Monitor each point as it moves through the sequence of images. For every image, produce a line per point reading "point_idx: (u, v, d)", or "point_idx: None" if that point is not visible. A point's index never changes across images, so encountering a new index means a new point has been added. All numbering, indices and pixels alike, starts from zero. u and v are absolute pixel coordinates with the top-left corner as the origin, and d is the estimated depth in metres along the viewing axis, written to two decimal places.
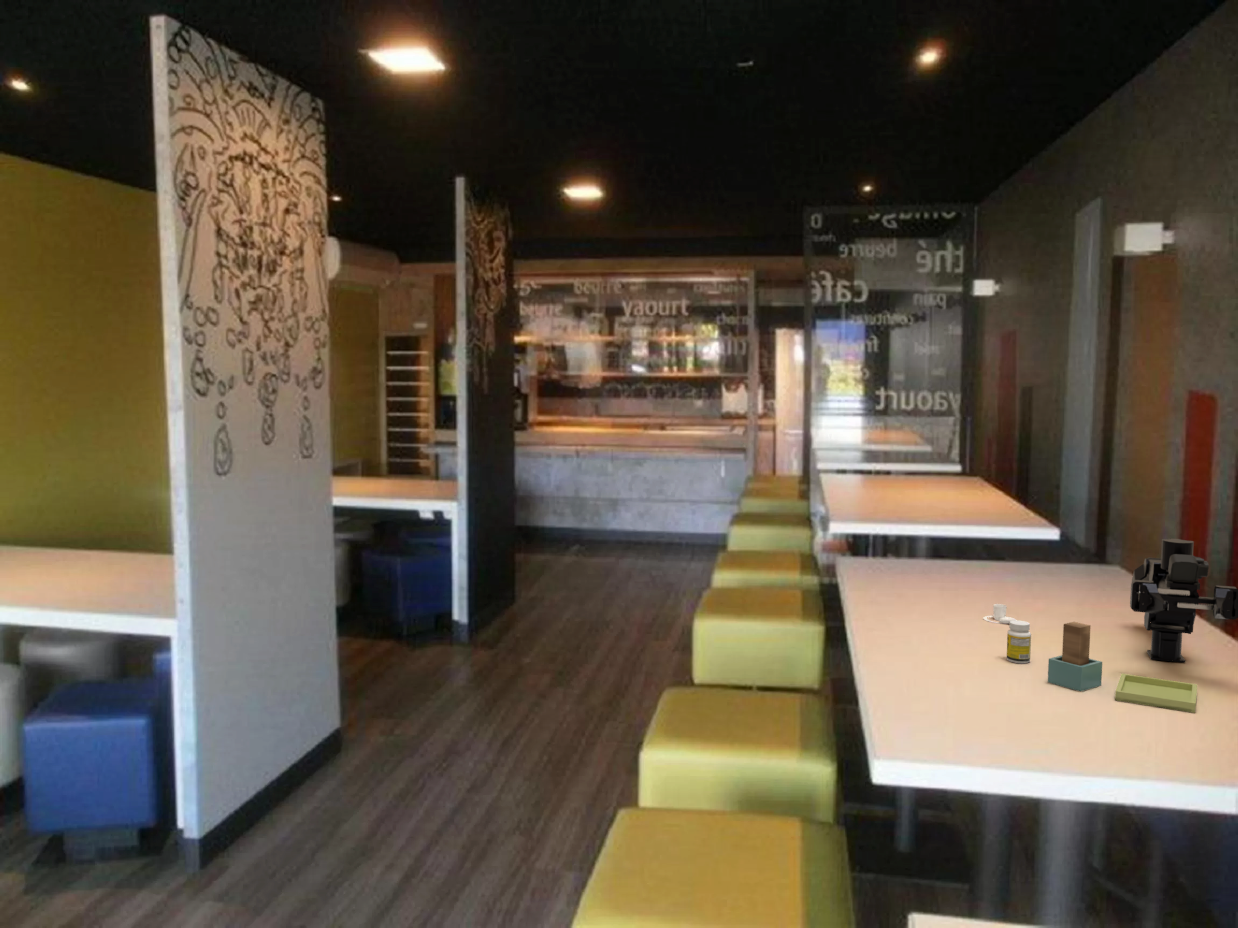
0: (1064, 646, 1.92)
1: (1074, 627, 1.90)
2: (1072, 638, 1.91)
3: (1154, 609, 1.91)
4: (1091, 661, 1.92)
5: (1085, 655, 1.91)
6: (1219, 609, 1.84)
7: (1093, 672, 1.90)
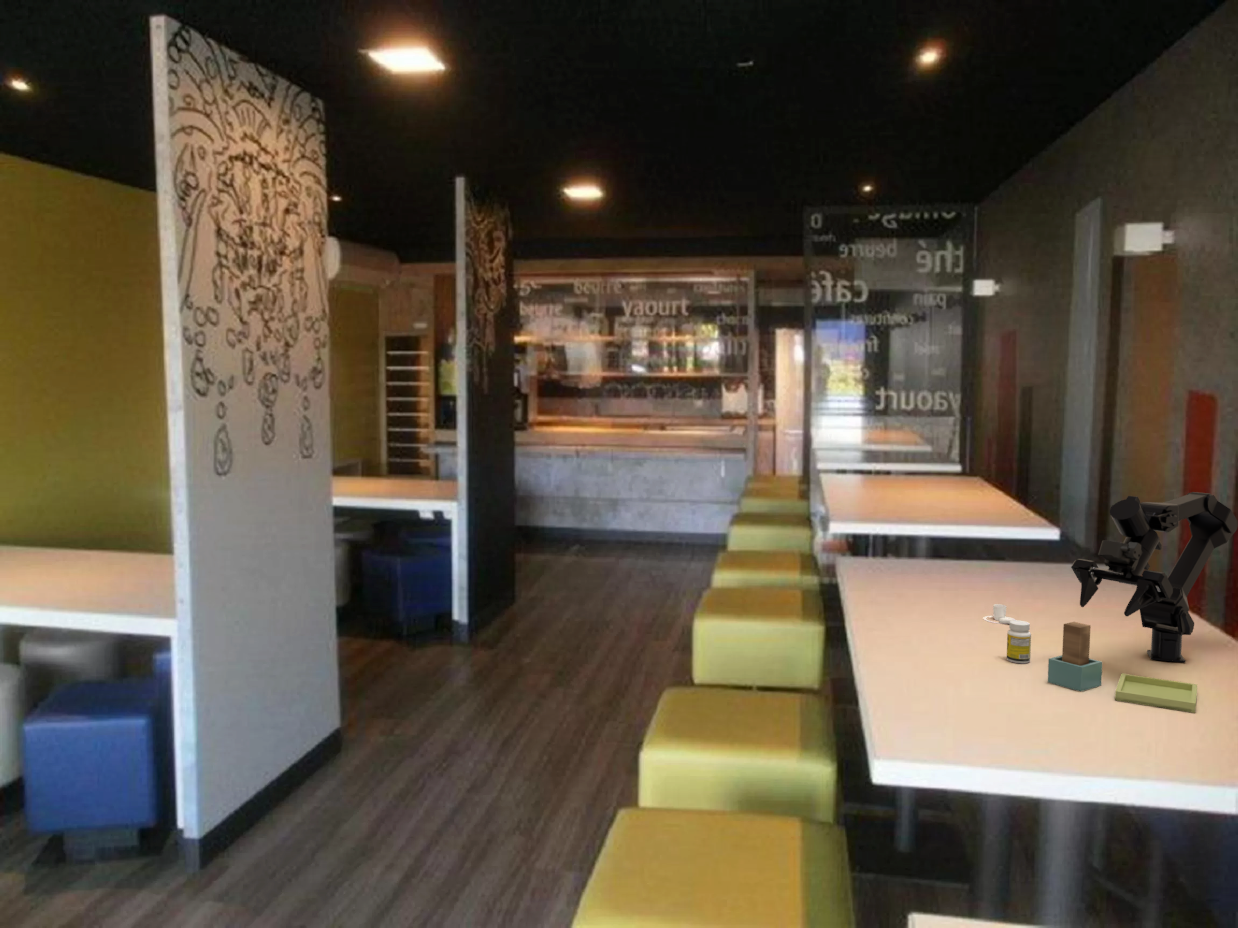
0: (1064, 646, 1.92)
1: (1074, 627, 1.90)
2: (1072, 638, 1.91)
3: None
4: (1091, 661, 1.92)
5: (1085, 655, 1.91)
6: (1125, 613, 1.92)
7: (1093, 672, 1.90)
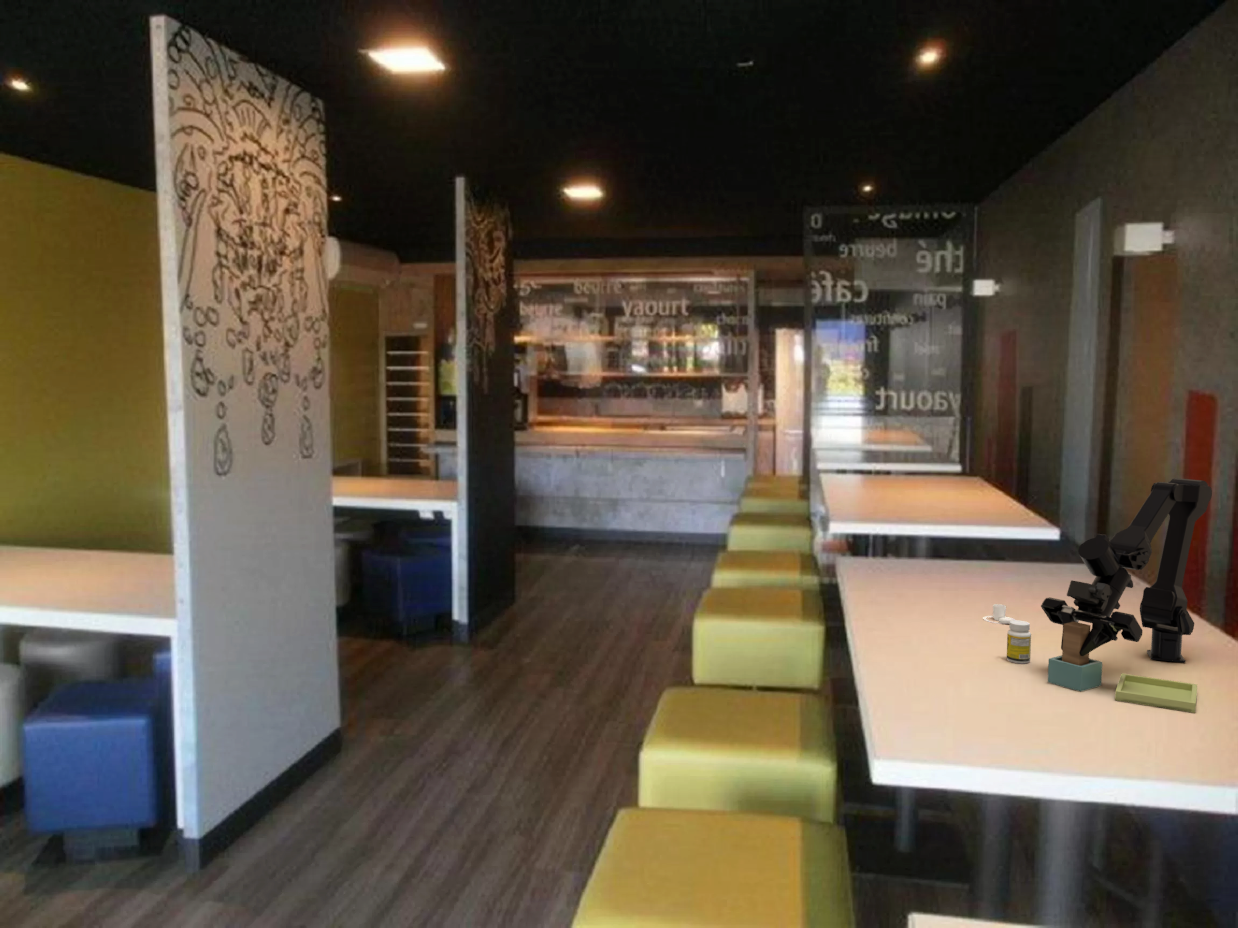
0: (1064, 645, 1.92)
1: (1074, 627, 1.90)
2: (1072, 638, 1.91)
3: None
4: (1091, 661, 1.92)
5: (1085, 655, 1.91)
6: (1080, 653, 1.90)
7: (1093, 672, 1.90)
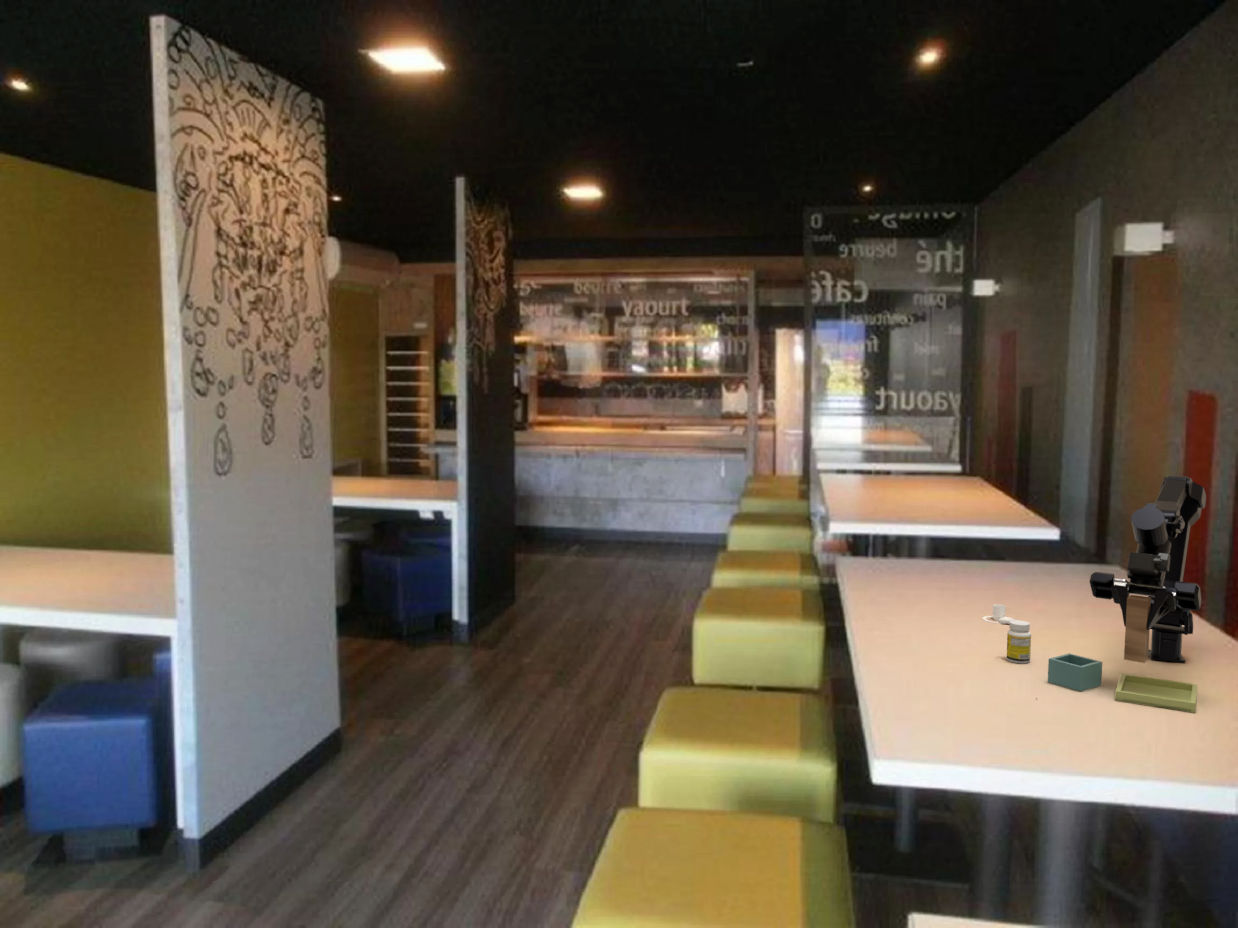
0: (1127, 620, 1.85)
1: (1140, 600, 1.83)
2: (1138, 612, 1.84)
3: None
4: (1091, 661, 1.92)
5: None
6: (1148, 627, 1.83)
7: (1093, 672, 1.90)
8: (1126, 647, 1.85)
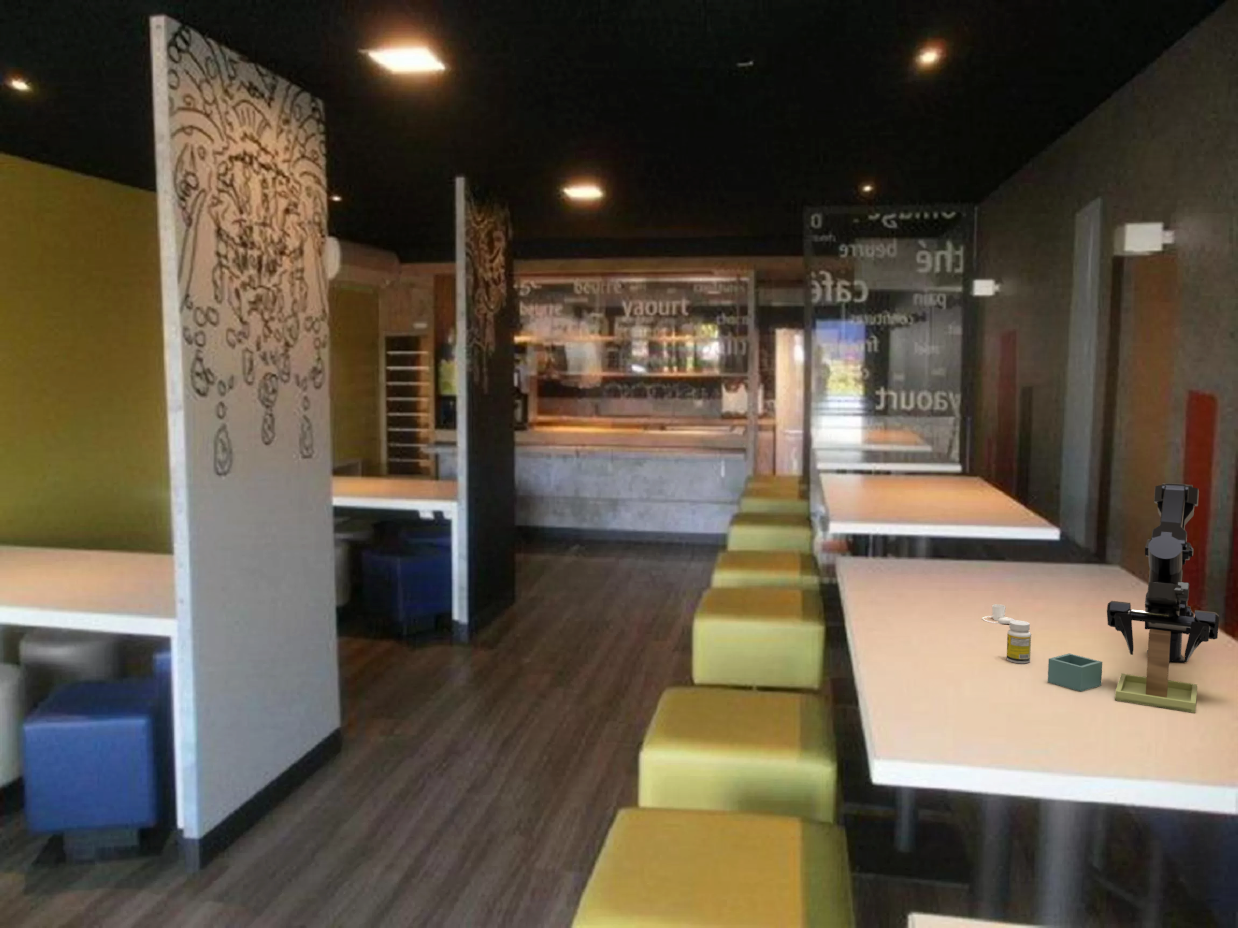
0: (1149, 655, 1.83)
1: (1162, 635, 1.82)
2: (1160, 647, 1.82)
3: (1126, 641, 1.89)
4: (1091, 661, 1.92)
5: None
6: (1186, 659, 1.81)
7: (1093, 672, 1.90)
8: (1148, 682, 1.84)
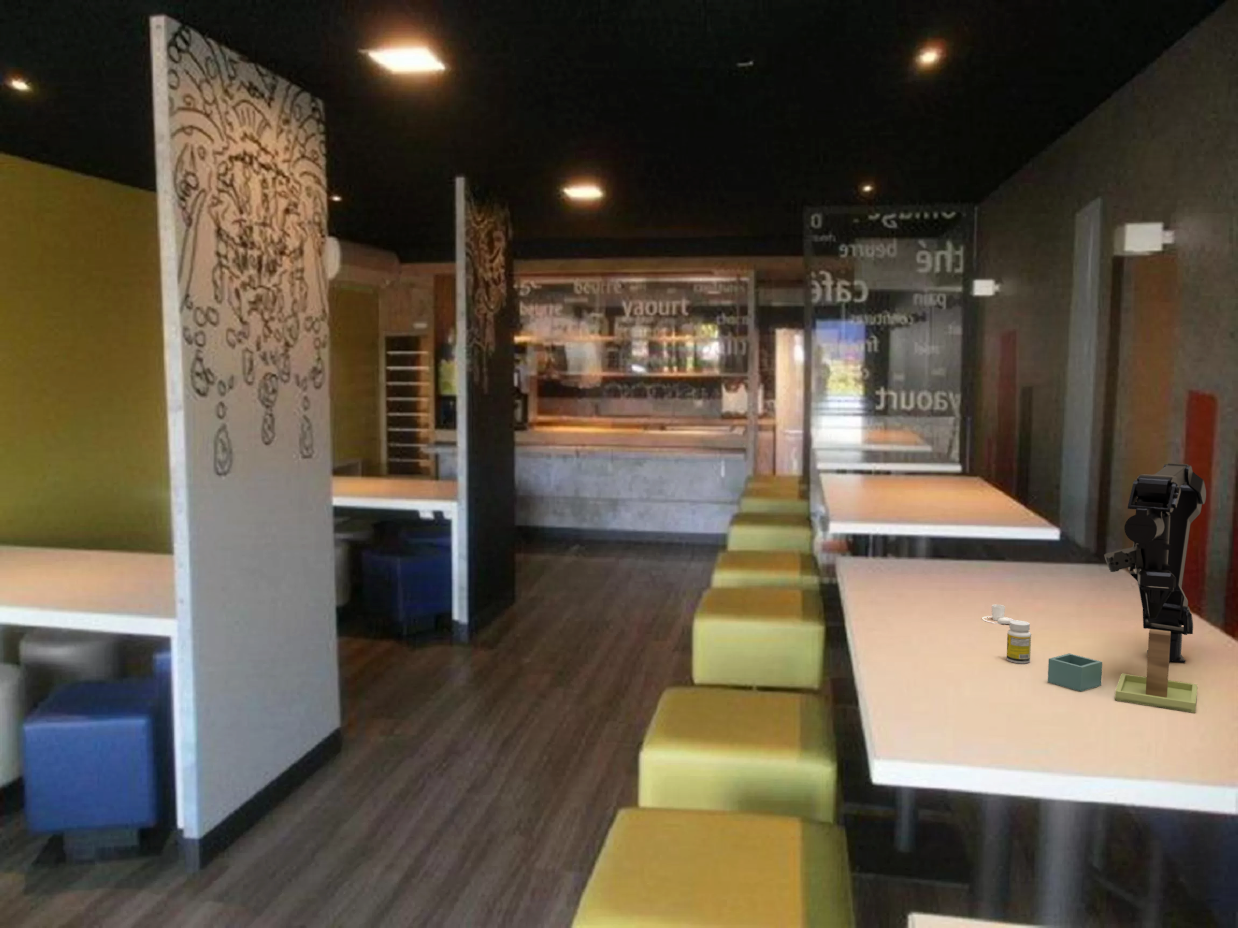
0: (1149, 655, 1.83)
1: (1162, 635, 1.82)
2: (1160, 647, 1.82)
3: None
4: (1091, 661, 1.92)
5: None
6: (1151, 618, 1.93)
7: (1093, 672, 1.90)
8: (1148, 682, 1.84)
